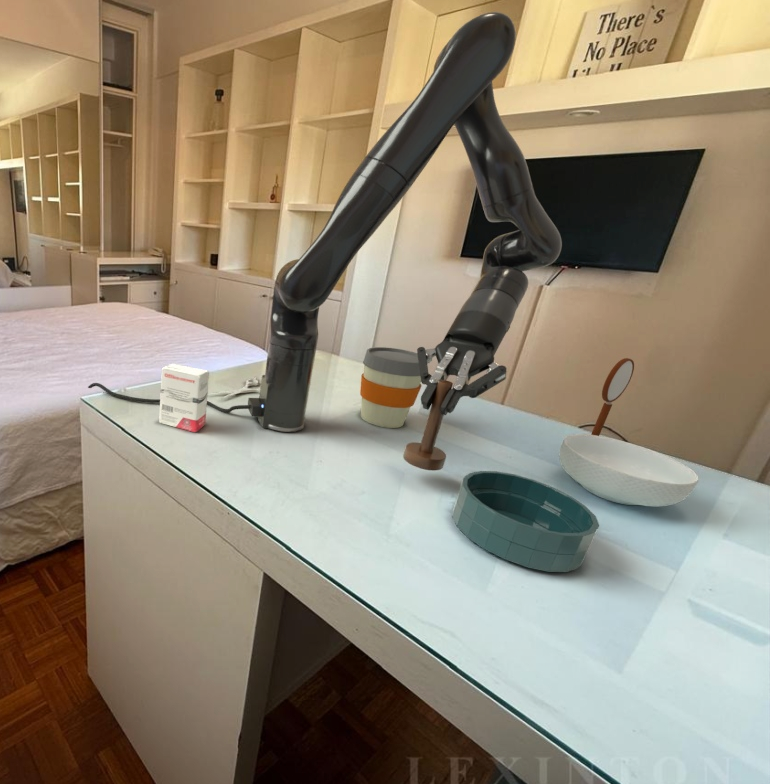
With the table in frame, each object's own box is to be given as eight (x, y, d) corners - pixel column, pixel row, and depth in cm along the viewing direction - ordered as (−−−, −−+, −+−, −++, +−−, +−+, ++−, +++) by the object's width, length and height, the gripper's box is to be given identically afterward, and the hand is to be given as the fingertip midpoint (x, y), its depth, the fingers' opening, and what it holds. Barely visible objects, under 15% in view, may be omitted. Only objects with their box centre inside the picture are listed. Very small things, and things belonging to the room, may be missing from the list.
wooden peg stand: (415, 470, 72) (438, 387, 67) (396, 452, 78) (416, 374, 73) (450, 471, 73) (476, 389, 68) (429, 453, 78) (452, 376, 73)
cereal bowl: (653, 534, 66) (675, 492, 64) (530, 478, 80) (543, 442, 78) (697, 507, 74) (717, 470, 72) (577, 460, 88) (591, 427, 85)
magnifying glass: (592, 448, 93) (632, 355, 86) (602, 452, 92) (643, 358, 85) (570, 455, 90) (610, 358, 83) (581, 460, 88) (622, 361, 81)
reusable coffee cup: (423, 424, 100) (441, 359, 95) (390, 436, 93) (408, 366, 88) (373, 405, 109) (387, 344, 104) (340, 414, 103) (353, 350, 97)
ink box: (206, 424, 93) (210, 369, 89) (195, 433, 88) (200, 376, 84) (169, 415, 96) (172, 361, 92) (157, 423, 92) (160, 367, 88)
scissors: (286, 388, 114) (227, 402, 102) (285, 391, 114) (227, 406, 102) (255, 376, 122) (198, 388, 110) (255, 379, 122) (197, 391, 110)
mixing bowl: (499, 574, 56) (514, 534, 54) (430, 503, 70) (440, 469, 68) (612, 575, 57) (632, 536, 55) (522, 505, 71) (535, 472, 69)
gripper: (434, 301, 76) (386, 383, 72) (533, 317, 67) (483, 412, 63) (437, 329, 81) (393, 407, 78) (529, 347, 72) (483, 436, 68)
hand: (434, 409), depth 70 cm, fingers closed on wooden peg stand
